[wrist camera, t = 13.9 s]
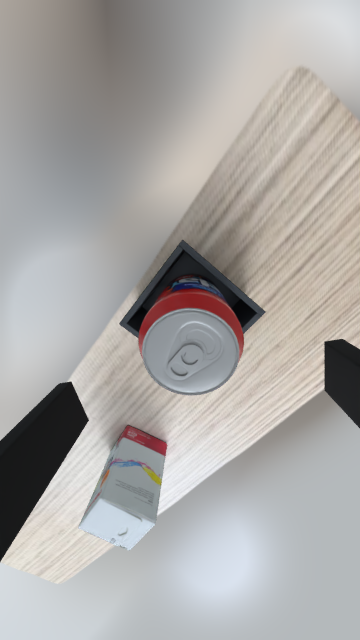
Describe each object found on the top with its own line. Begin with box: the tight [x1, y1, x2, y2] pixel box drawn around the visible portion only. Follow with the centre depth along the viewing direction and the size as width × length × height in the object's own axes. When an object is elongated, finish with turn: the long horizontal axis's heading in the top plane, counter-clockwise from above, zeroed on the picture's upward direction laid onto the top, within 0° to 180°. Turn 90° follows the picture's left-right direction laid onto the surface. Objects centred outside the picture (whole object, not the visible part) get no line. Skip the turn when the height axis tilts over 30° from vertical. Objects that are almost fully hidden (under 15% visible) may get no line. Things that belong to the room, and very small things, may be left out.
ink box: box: [78, 425, 167, 550], centre depth 33 cm, size 9×9×12 cm
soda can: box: [139, 274, 244, 395], centre depth 20 cm, size 8×8×15 cm
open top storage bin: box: [119, 240, 265, 338], centre depth 25 cm, size 11×11×8 cm
